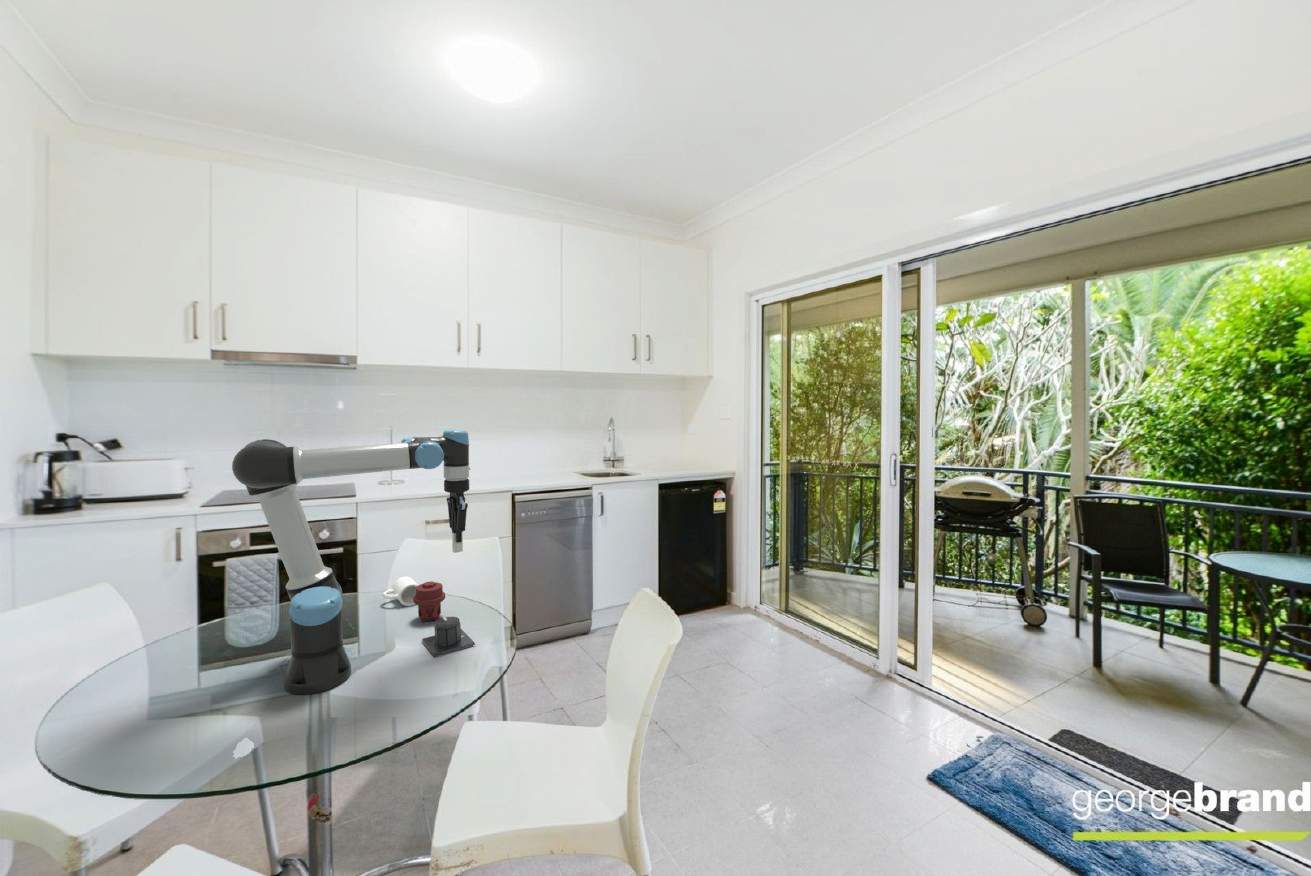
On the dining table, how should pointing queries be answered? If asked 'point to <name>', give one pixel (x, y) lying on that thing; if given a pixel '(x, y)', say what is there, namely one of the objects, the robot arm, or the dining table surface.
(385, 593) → the mug
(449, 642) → the knob
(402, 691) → the dining table surface
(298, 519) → the robot arm
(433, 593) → the mechanical component
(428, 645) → the metal plate
